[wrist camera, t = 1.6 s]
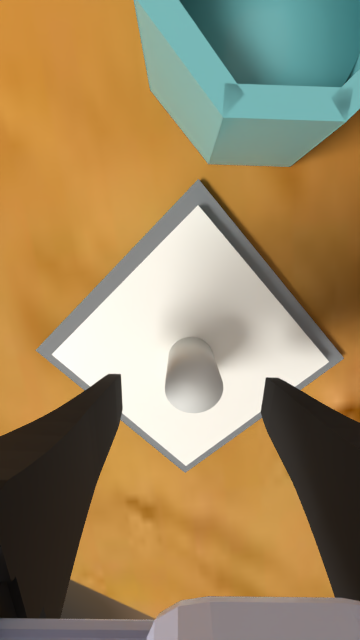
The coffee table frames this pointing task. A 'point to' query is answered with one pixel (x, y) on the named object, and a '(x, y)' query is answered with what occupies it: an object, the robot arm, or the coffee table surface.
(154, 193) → the coffee table surface
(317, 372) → the mat
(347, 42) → the bowl
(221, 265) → the lid
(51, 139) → the coffee table surface
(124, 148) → the coffee table surface
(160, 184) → the coffee table surface
